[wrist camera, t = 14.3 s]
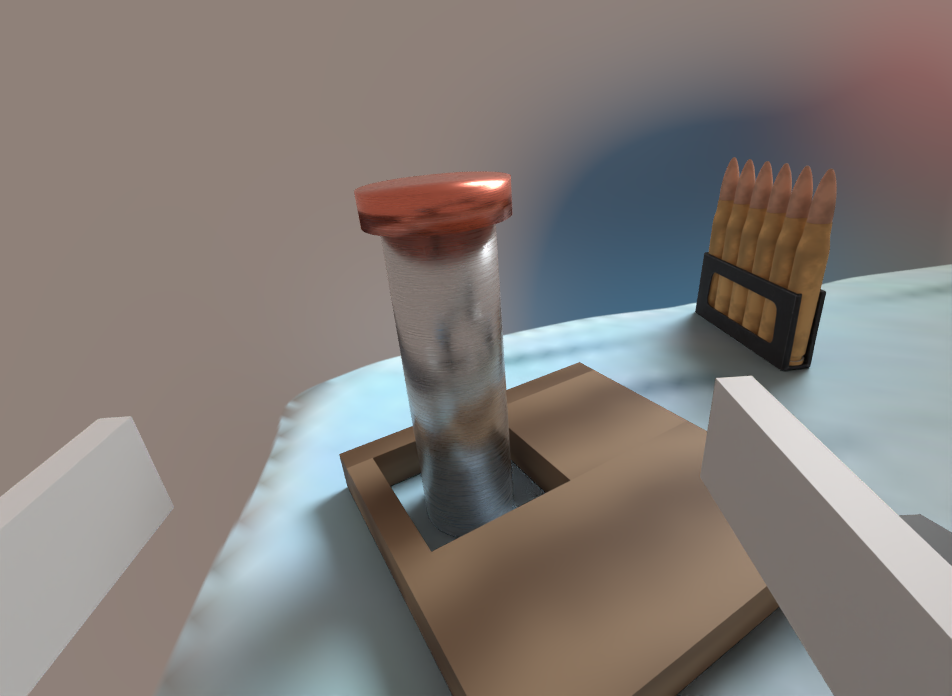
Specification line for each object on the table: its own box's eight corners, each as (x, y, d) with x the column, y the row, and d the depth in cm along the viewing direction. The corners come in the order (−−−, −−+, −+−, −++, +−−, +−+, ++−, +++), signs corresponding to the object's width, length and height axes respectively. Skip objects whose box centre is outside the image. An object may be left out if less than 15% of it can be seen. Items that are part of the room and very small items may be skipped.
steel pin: (549, 513, 21) (542, 176, 15) (446, 569, 19) (387, 201, 13) (488, 452, 25) (463, 169, 19) (397, 493, 23) (335, 187, 17)
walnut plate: (843, 552, 18) (857, 512, 17) (520, 828, 12) (516, 789, 11) (579, 390, 30) (579, 362, 29) (347, 486, 24) (339, 454, 23)
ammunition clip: (810, 368, 30) (861, 168, 25) (783, 372, 30) (828, 171, 25) (715, 309, 40) (738, 155, 35) (694, 311, 40) (714, 157, 35)
